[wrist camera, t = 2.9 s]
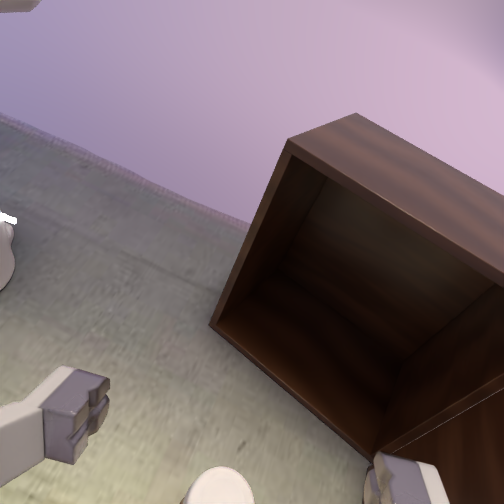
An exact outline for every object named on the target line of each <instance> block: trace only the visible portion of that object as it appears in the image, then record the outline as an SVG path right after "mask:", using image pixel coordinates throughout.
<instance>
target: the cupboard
mask: <svg viewBox="0 0 504 504" xmlns="http://www.w3.org/2000/svg"><path fill="white" fill-rule="evenodd" d="M209 326H210V327H212V328H213V329H214V330H215V331H216V332H218V333H219V334H220V335H221V336H222V337H223V338H225V339H226V340H227V341H228V342H229V343H231V344H232V345H233V346H234V347H235V348H236V349H238V350H239V351H240V352H241V353H242V354H243V355H245V356H246V357H247V358H248V359H249V360H251V361H252V362H253V363H254V364H255V365H256V366H258V367H259V368H260V369H261V370H262V371H264V372H265V373H266V374H267V375H268V376H269V377H271V378H272V379H273V380H274V381H275V382H277V383H278V384H279V385H280V386H281V387H282V388H284V389H285V390H286V391H287V392H288V393H290V394H291V395H292V396H293V397H294V398H295V399H297V400H298V401H299V402H300V403H301V404H303V405H304V406H305V407H306V408H307V409H308V410H310V411H311V412H312V413H313V414H314V415H316V416H317V417H318V418H319V419H320V420H321V421H323V422H324V423H325V424H326V425H327V426H329V427H330V428H331V429H332V430H333V431H334V432H336V433H337V434H338V435H339V436H340V437H342V438H343V439H344V440H345V441H346V442H347V443H349V444H350V445H351V446H352V447H353V448H355V449H356V450H357V451H358V452H359V453H360V454H362V455H363V456H364V457H365V458H366V459H368V460H369V461H370V462H371V463H372V464H374V461H373V460H374V458H375V456H376V454H377V453H378V452H379V451H380V452H384V453H388V454H391V453H393V452H395V451H396V450H398V449H400V448H401V447H403V446H405V445H407V444H408V443H410V442H412V441H413V440H415V439H417V438H419V437H420V436H422V435H424V434H425V433H427V432H429V431H431V430H432V429H434V428H436V427H437V426H439V425H441V424H443V423H444V422H446V421H448V420H450V419H451V418H453V417H455V416H456V415H458V414H460V413H462V412H463V411H465V410H467V409H468V408H470V407H472V406H474V405H475V404H477V403H479V402H480V401H482V400H484V399H486V398H487V397H489V396H491V395H492V394H494V393H496V392H498V391H499V390H501V389H503V388H504V196H503V195H501V194H499V193H497V192H496V191H494V190H492V189H490V188H489V187H487V186H485V185H483V184H482V183H480V182H478V181H476V180H475V179H473V178H471V177H469V176H467V175H466V174H464V173H462V172H460V171H459V170H457V169H455V168H453V167H452V166H450V165H448V164H446V163H444V162H443V161H441V160H439V159H437V158H436V157H433V156H432V155H430V154H428V153H427V152H425V151H423V150H421V149H420V148H418V147H416V146H414V145H413V144H411V143H409V142H407V141H405V140H404V139H402V138H400V137H398V136H396V135H395V134H393V133H391V132H389V131H388V130H386V129H384V128H382V127H380V126H379V125H377V124H375V123H374V122H372V121H370V120H368V119H366V118H365V117H363V116H361V115H359V114H358V113H354V114H351V115H349V116H346V117H343V118H341V119H338V120H336V121H333V122H330V123H328V124H325V125H323V126H320V127H317V128H314V129H312V130H309V131H307V132H304V133H301V134H299V135H296V136H293V137H291V138H288V139H287V141H286V144H285V146H284V148H283V150H282V153H281V155H280V157H279V160H278V162H277V164H276V167H275V169H274V172H273V174H272V176H271V179H270V181H269V183H268V186H267V188H266V191H265V193H264V195H263V198H262V200H261V202H260V205H259V207H258V209H257V212H256V215H255V217H254V219H253V221H252V224H251V226H250V228H249V231H248V233H247V235H246V238H245V240H244V242H243V245H242V247H241V250H240V252H239V254H238V257H237V259H236V261H235V264H234V266H233V269H232V271H231V273H230V276H229V278H228V280H227V283H226V285H225V287H224V290H223V292H222V295H221V297H220V299H219V302H218V304H217V306H216V309H215V311H214V313H213V316H212V318H211V321H210V323H209Z"/></svg>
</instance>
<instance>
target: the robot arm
mask: <svg viewBox="0 0 504 504" xmlns="http://www.w3.org/2000/svg"><path fill="white" fill-rule="evenodd" d="M40 1H41V0H0V13H7V12H30V11H31V10H33V9H34V7H36V6H37V5H38V4H39V3H40ZM4 220H5V221H8V222H10V223H13V224H16V218H13V217H10V216H7V215H5V214H2V213H1V210H0V291H1V290H2V289H3V288H4V287H5V285H6V284H7V283H8V282H9V280H10V278H11V277H12V275H13V272H14V268H15V258H14V255H13V252H12V250H11V243H12V240H13V237H14V231H13V228H12V226H11V225H9V224H7V223H5V222H4ZM109 389H110V379H109V378H107V377H103V376H100V375H97V374H93V373H90V372H87V371H83V370H80V369H76V368H72V367H69V366H66V365H61V366H59V367H57V368H56V369H55V370H54V371H53V372H52V373H50V374H49V375H48V376H47V377H46V378H45V379H44V380H43V381H42V382H41V383H40V384H39V385H38V386H37V387H36V388H35V389H33V390H32V391H31V392H30V393H29V394H28V395H27V396H26V397H25V398H24V399H23V400H22V401H21V402H17V401H14V402H11V403H9V404H6V405H4V406H1V407H0V487H2V486H4V485H5V484H7V483H8V482H10V481H12V480H13V479H15V478H16V477H18V476H19V475H21V474H23V473H24V472H26V471H27V470H29V469H30V468H32V467H34V466H35V465H37V464H38V463H40V462H42V461H43V460H44V459H45V458H48V459H52V460H55V461H59V462H63V463H67V464H71V465H74V464H75V462H76V461H77V460H78V458H79V457H80V455H81V454H82V453H83V451H84V450H85V448H86V447H87V446H88V436H90V435H92V434H94V433H96V432H97V431H98V430H99V428H100V427H101V425H102V424H103V422H104V420H105V417H106V415H107V412H108V408H109V398H108V396H107V395H106V393H107V391H108V390H109ZM373 461H374V467H375V468H374V469H372V470H370V471H369V472H368V474H367V477H366V479H365V485H364V504H450V503H449V500H448V497H447V495H446V492H445V489H444V487H443V484H442V481H441V479H440V476H439V474H438V471H437V469H436V468H435V466H434V465H430V464H426V463H422V462H418V461H414V460H411V459H407V458H403V457H399V456H395V455H392V454H388V453H384V452H380V451H379V452H378V453H377V454H376V456H375V458H374V460H373Z"/></svg>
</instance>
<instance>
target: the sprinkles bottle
mask: <svg viewBox="0 0 504 504" xmlns="http://www.w3.org/2000/svg"><path fill="white" fill-rule="evenodd" d="M180 504H255V501H254V496H253V493H252V490H251V488H250V486H249V484H248V482H247V481H246V479H245V478H244V477H243V476H242V475H241V474H240V473H239V472H237V471H236V470H234V469H232V468H229V467H225V466H217V467H212V468H210V469H208V470H206V471H204V472H203V473H202V474H200V475H199V476H198V477H197V479H196V480H195V481H194V482H193V483H192V485H191V486H190V488H189V489H188V491H187V493H186V495H185V497H184V498H183V500H182V501H181V502H180Z"/></svg>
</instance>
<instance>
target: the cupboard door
mask: <svg viewBox="0 0 504 504" xmlns="http://www.w3.org/2000/svg"><path fill="white" fill-rule="evenodd" d="M392 455H395V456H399V457H403V458H407V459H411V460H414V461H418V462H422V463H426V464H430V465H434V466H435V468H436V469H437V471H438V474H439V476H440V479H441V481H442V484H443V487H444V489H445V492H446V495H447V497H448V500H449V503H450V504H504V389H502V390H500V391H499V392H497V393H495V394H493V395H492V396H490V397H488V398H486V399H485V400H483V401H481V402H480V403H478V404H476V405H474V406H473V407H471V408H469V409H468V410H466V411H464V412H462V413H461V414H459V415H457V416H455V417H454V418H452V419H450V420H449V421H447V422H445V423H443V424H442V425H440V426H438V427H437V428H435V429H433V430H431V431H430V432H428V433H426V434H424V435H423V436H421V437H419V438H418V439H416V440H414V441H412V442H411V443H409V444H407V445H406V446H404V447H402V448H400V449H399V450H397V451H395V452H393V453H392ZM374 468H375V467H374V464H373V465H371V466H369V467H368V471H367V474H368V472H369V471H370V470H372V469H374ZM363 504H364V498H363Z"/></svg>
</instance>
